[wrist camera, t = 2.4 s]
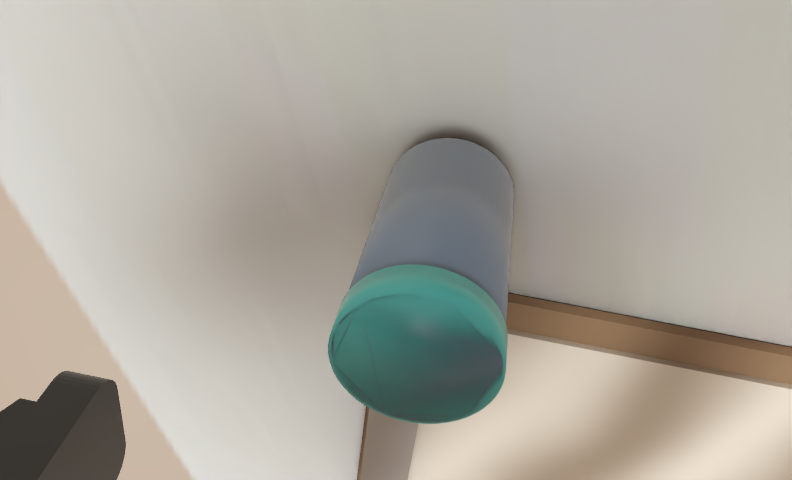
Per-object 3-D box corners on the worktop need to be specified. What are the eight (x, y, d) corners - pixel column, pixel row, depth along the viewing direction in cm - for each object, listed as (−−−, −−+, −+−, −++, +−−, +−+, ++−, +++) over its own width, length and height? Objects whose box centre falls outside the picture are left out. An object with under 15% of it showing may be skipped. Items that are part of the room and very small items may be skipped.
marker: (530, 130, 18) (523, 312, 12) (504, 238, 20) (487, 438, 14) (399, 107, 18) (333, 275, 12) (386, 216, 20) (324, 404, 14)
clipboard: (914, 371, 20) (936, 409, 19) (734, 608, 28) (742, 645, 26) (385, 269, 21) (375, 299, 20) (352, 524, 29) (344, 556, 27)
